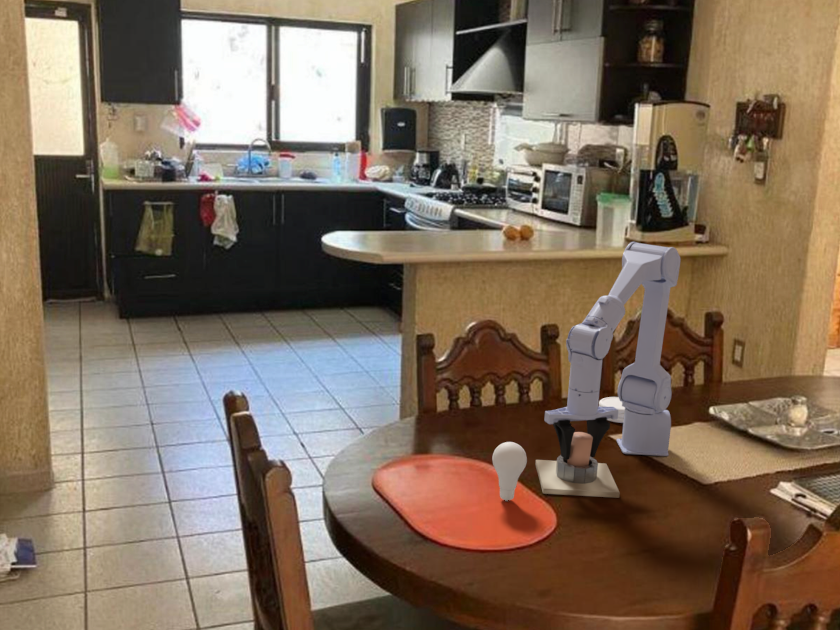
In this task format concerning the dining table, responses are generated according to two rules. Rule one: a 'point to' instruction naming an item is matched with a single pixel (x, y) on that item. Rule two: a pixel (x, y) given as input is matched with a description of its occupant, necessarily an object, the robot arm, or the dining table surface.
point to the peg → (580, 449)
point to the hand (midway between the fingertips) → (577, 456)
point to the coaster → (614, 403)
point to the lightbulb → (508, 467)
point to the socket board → (576, 478)
